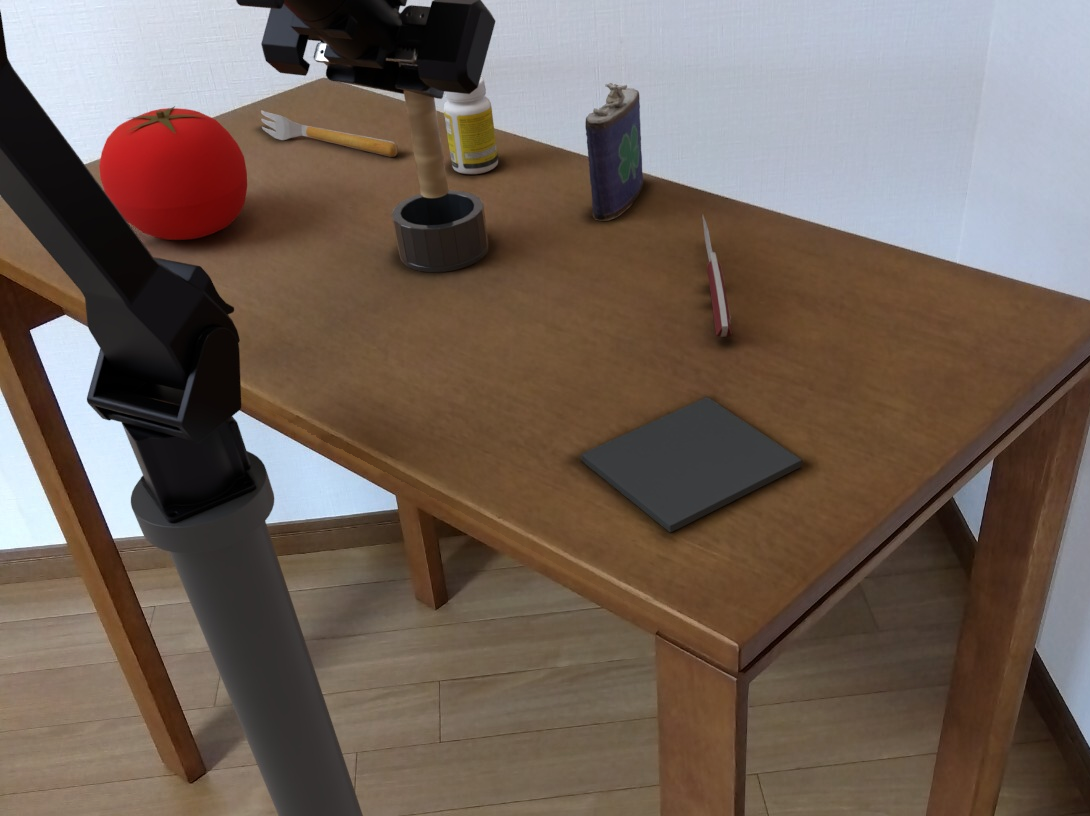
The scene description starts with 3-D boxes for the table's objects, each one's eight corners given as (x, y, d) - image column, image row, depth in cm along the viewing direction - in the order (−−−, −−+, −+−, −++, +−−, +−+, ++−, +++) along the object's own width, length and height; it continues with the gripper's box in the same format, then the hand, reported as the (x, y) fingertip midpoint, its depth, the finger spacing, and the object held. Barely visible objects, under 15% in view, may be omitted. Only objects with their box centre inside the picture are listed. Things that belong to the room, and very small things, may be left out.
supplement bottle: (507, 161, 117) (497, 76, 111) (480, 178, 114) (468, 91, 109) (470, 154, 119) (459, 69, 114) (442, 170, 116) (429, 85, 111)
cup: (426, 281, 99) (418, 237, 96) (384, 250, 104) (376, 207, 101) (505, 253, 102) (499, 210, 99) (460, 224, 107) (454, 182, 104)
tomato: (209, 264, 104) (171, 142, 96) (98, 246, 108) (53, 128, 100) (285, 210, 111) (255, 94, 104) (178, 196, 116) (142, 83, 108)
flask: (623, 179, 112) (618, 65, 105) (651, 183, 111) (648, 67, 104) (586, 219, 106) (578, 101, 99) (616, 223, 105) (610, 104, 98)
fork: (402, 137, 120) (260, 107, 127) (391, 139, 118) (248, 108, 126) (402, 162, 121) (262, 131, 129) (391, 164, 119) (250, 133, 127)
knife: (733, 348, 87) (734, 312, 85) (716, 349, 88) (717, 313, 86) (708, 232, 102) (709, 199, 100) (694, 233, 103) (694, 200, 100)
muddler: (429, 201, 98) (400, 25, 88) (416, 192, 99) (386, 19, 90) (453, 193, 99) (427, 18, 89) (440, 184, 100) (413, 12, 91)
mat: (670, 533, 72) (670, 525, 71) (581, 460, 78) (580, 453, 77) (801, 467, 76) (802, 459, 75) (707, 403, 82) (707, 396, 82)
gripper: (463, -128, 76) (553, 4, 91) (244, -135, 83) (360, -11, 98) (420, 34, 77) (517, 139, 91) (205, 14, 83) (327, 115, 98)
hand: (428, 91), depth 95 cm, fingers closed on muddler, 2 cm apart
